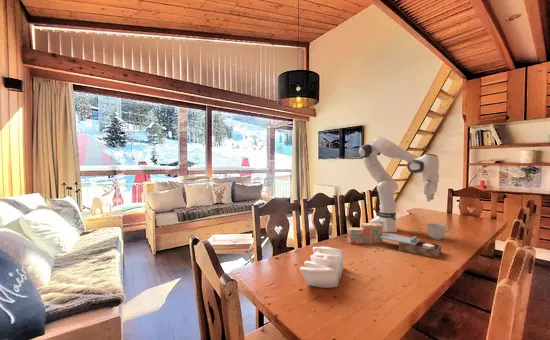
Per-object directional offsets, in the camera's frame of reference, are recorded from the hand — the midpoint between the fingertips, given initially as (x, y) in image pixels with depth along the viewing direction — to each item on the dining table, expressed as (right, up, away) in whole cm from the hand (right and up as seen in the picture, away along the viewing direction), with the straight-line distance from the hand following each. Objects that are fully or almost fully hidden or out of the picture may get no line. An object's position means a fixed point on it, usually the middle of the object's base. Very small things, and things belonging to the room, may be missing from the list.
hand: (430, 200), depth 161 cm
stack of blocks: (-39, -30, +9) cm, 50 cm away
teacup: (+13, -29, +12) cm, 34 cm away
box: (-13, -30, -11) cm, 34 cm away
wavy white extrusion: (-76, -32, -39) cm, 91 cm away
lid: (-22, -24, -4) cm, 33 cm away
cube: (-10, -29, -14) cm, 34 cm away
